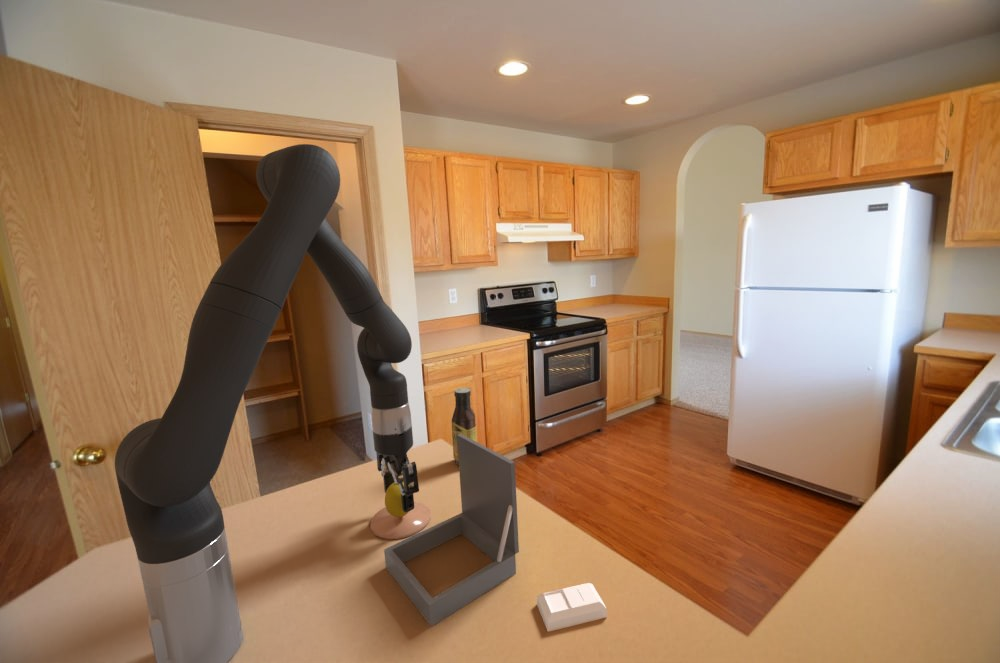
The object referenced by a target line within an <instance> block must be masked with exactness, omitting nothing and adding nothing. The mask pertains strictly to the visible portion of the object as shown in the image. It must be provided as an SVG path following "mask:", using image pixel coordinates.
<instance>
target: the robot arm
mask: <svg viewBox="0 0 1000 663" xmlns="http://www.w3.org/2000/svg"><path fill="white" fill-rule="evenodd" d="M255 171H256V172H255V178H256V183H257V186H258V189H259V191H260V192H261V193H262V196H263V197H264V198H265V200H266V201H267V205H266V208H265V210H264V212H263V213H262V216H261V217H260V219H259V220H258V222H257V223H256V225H255V226H254V227H253V228H252V230H251V231H250V232H249V233H248V234H247V235H246V236H245V237H244V238H243V239H242V240H241V242H239V244H237V246H236V247H234V248H233V250H232V251H231V252H230V253H229V255H228V256H227V257H225V259H224V261H223V262H222V263H221V264H220V265H219V267H218V268H217V270H216V271H215V273H214V275H212V278H211V279H210V282H209V284H208V286H207V288H206V290H205V291H204V293H203V295H202V297H201V300H200V302H199V304H198V306H197V308H196V310H195V313H194V316H193V319H192V322H191V325H190V328H189V332H188V333H189V334H188V339H187V344H186V350H185V352H186V353H185V357H184V363H183V368H182V373H181V377H180V380H179V383H178V384H177V386H176V387H177V388H176V389H175V392H174V393H173V397H172V398H171V400H170V401H169V403H168V406H167V407H166V408H165V411H164V413H163V415H162V416H161V417H160V418H159V417H158V418H154V419H150V420H148V421H145V422H143V423H140V424H139V425H137V426H136V427H134V428H133V429H131V430H130V431H129V432H128V433H127V434H125V436H124V438H122V440H121V441H120V443H119V445H118V448H117V449H116V453H115V457H114V470H115V475H116V481H117V484H118V489H119V495H120V499H121V504H122V508H123V511H124V516H125V520H126V525H127V529H128V531H129V534H130V536H131V539H132V542H133V546H134V547H135V552H136V556H137V557H136V558H137V561H138V566H139V571H140V576H141V581H142V585H143V590H144V595H145V600H146V606H147V611H148V619H147V620H148V622H147V625H148V626H147V627H148V632H149V636H150V642H151V646H152V652H153V656H154V660H155V663H228V662H229V661H230V660H231V659H232V658H233V657H234V655H235V654H236V653H237V652H238V651H239V648H240V647H241V644H242V641H243V639H244V638H243V637H244V636H243V628H242V620H241V616H240V610H239V604H238V598H237V592H236V585H235V580H234V579H235V578H234V573H233V569H232V564H231V563H232V562H231V556H230V552H229V546H228V538H227V532H226V525H225V520H224V515H223V510H222V507H221V506H220V503H219V502H218V500H217V498H216V495H215V494H214V492H213V488H212V485H211V481H212V480H213V478H214V477H215V475H216V473H217V472H218V469H219V467H220V465H221V461H222V459H223V456H224V453H225V449H226V446H227V443H228V441H229V437H230V434H231V430H232V427H233V425H234V421H235V417H236V415H237V412H238V408H239V406H240V403H241V401H242V399H243V396H244V393H245V391H246V389H247V387H248V384H249V383H250V380H251V378H252V377H253V374H254V372H255V369H256V367H257V366H258V363H259V360H260V358H261V355H262V353H263V351H264V349H265V347H266V345H267V343H268V341H269V339H270V337H271V335H272V333H273V330H274V328H275V326H276V323H277V321H278V320H279V317H280V314H281V312H282V310H283V308H284V305H285V302H286V299H287V297H288V295H289V292H290V290H291V288H292V286H293V284H294V281H295V279H296V277H297V275H298V274H299V273H298V272H299V271H300V268H301V265H302V263H303V261H304V259H305V256H306V253H307V254H308V256H309V257H310V258H311V260H312V261H313V262H314V264H315V265H316V267H317V269H318V270H319V271H320V273H321V274H322V276H323V277H324V279H325V280H326V282H327V284H328V285H329V287H330V288H331V291H332V292H333V294H334V296H335V298H336V300H337V302H338V303H339V305H340V307H341V308H342V310H343V312H344V313H345V316H346V318H348V319H349V321H350V323H352V324H354V325H355V326H359V327H361V328H363V329H362V330H361V331H360V333H359V335H358V338H357V344H356V349H357V354H358V359H359V361H360V366H361V369H363V372H364V373H363V374H364V375H365V376H364V377H365V378H366V380H367V382H368V385H369V396H370V404H371V427H372V437H373V438H372V439H373V446H374V451H375V453H376V463H377V464H376V465H377V471H378V472H380V473H381V477H382V479H383V487H384V494H386V491H387V489H388V487H389V486H390V485H391V484H393V483H394V482H395V484H397V485H399V488H400V491H401V499H402V509H403V511H404V512H408V511H411V510H413V509H414V502H415V500H414V494H416V493H418V492H420V488H419V487H420V486H419V479H418V470H417V463H416V461H412V462H410V460H409V456H408V452H409V451H410V450H411V448H412V447H413V445H414V436H413V424H412V414H411V413H412V412H411V408H410V405H409V394H408V383H407V378H406V376H405V375H404V374H403V373H401V372H399V371H397V370H396V369H395V368H394V367H393V365H392V364H399V363H403V362H404V361H406V360H407V359H408V358H409V356H410V354H411V352H412V345H413V344H412V337H411V335H410V332H409V330H408V329H407V327H406V325H405V324H404V323H403V321H402V320H401V319H400V318H399V317H398V316H397V314H396V313H395V312H394V311H393V310H392V308H391V307H390V306H388V304H387V303H386V302H385V300H384V298H383V296H382V295H381V292H380V290H379V288H378V286H377V284H376V282H375V280H374V278H373V276H372V275H371V273H370V271H369V269H368V268H367V267H366V265H365V264H364V263H363V262H362V261H361V260H360V258H359V257H358V256H357V255H356V254H355V253H354V252H353V251H352V250H351V249H350V248H349V247H348V245H346V244H345V243H344V241H343V240H342V239H341V238H340V237H339V235H338V234H337V233H336V232H335V231H334V229H333V228H332V226H331V225H330V223H329V221H328V220H327V216H328V214H329V213H330V210H331V209H332V207H333V205H334V203H335V202H336V200H337V197H338V195H339V193H340V192H339V191H340V189H341V188H340V186H341V175H340V170H339V166H338V163H337V161H336V160H335V159H334V157H333V156H332V154H331V153H330V152H329V151H328V150H326V149H324V147H321V146H319V145H316V144H310V143H309V144H308V143H299V144H294V145H290V146H287V147H284V148H281V149H278V150H274V151H272V152H269V153H267V154H266V155H264V156H263V157H262V158H261V159H260V160H259V161H258V163H257V167H256V170H255ZM403 482H404V486H403Z"/></svg>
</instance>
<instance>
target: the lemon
mask: <svg viewBox="0 0 1000 663" xmlns="http://www.w3.org/2000/svg"><path fill="white" fill-rule="evenodd" d="M403 486H404V482H403ZM384 494H385V495H384V506H385V507H386V509H387V511H388V513H389V514H390V515H392V516H394V517H398V518H402V517H403V516H405V515H406V514H407V513H408V512H409V511H408V512H404V511H403V509H402V499H401V491H400V488H399V485H397V484H395V482H394V483H393V484H391V485H390V486H389V487H388V489H387V491H386V493H384Z"/></svg>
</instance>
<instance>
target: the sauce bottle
mask: <svg viewBox="0 0 1000 663" xmlns="http://www.w3.org/2000/svg"><path fill="white" fill-rule="evenodd" d="M454 398H455V408H454V411H453V414H452V418H451V434H452V435H451V436H452V453H453V460H454V464H455V465H456V466H458V467H459V459H458V444H457V435H458V434H462V435H464V436H466V437H468V438H470V439H472V440H473V441H475V442H477V443H478V441H477V439H478V438H477V424H476V413H475V411H474V409H473V408H472V407H471V406H472V405H471V404H472V403H471V389H470V388H468V387H459V388H456V389H455V390H454Z"/></svg>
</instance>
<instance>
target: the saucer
mask: <svg viewBox="0 0 1000 663" xmlns="http://www.w3.org/2000/svg"><path fill="white" fill-rule="evenodd" d="M431 515H432V514H431V510H430V508H429V507H428V506H427V505H425V504H424V503H421V502H417V501H414V509H413V510H411V511H409V512H408V513H407V514H406V515H405V516H403V517H402V518H398V517H394V516H392V515H390V514H389V513H388V511H387V509H386V506H385V507H383V508H382V509H380V510H379V511H377V512H376V513H375V514H374V515H373V517H371V521H370V530H371V532H372V534H373V535H374V536H376V537H378V538H380V539H384V540H401V539H407V538H409V537H412V536H414V535H416V534H418V533H420V532H422V530H423V529H424V530H425V528H426V527H427V526H428V525H429V522H430V521H431V518H432V517H431ZM424 530H423V531H424Z"/></svg>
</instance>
